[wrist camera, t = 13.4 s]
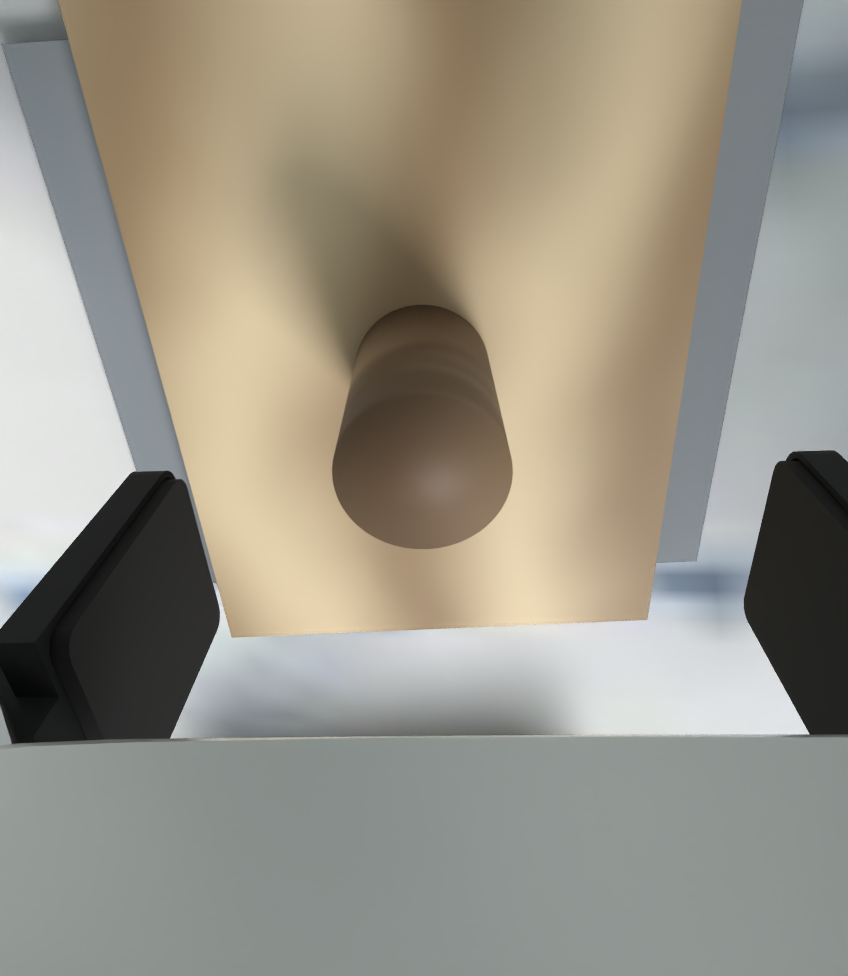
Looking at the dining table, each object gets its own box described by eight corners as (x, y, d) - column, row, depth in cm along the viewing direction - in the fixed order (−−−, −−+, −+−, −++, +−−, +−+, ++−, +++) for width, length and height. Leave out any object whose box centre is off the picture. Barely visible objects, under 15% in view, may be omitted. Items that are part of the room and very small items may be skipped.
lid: (734, -87, 13) (945, -192, 8) (638, 597, 21) (706, 763, 16) (69, -40, 13) (-159, -111, 8) (239, 615, 22) (182, 783, 17)
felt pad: (796, -8, 14) (806, -10, 13) (692, 552, 21) (696, 561, 21) (11, 44, 14) (0, 43, 14) (176, 576, 21) (172, 584, 21)
